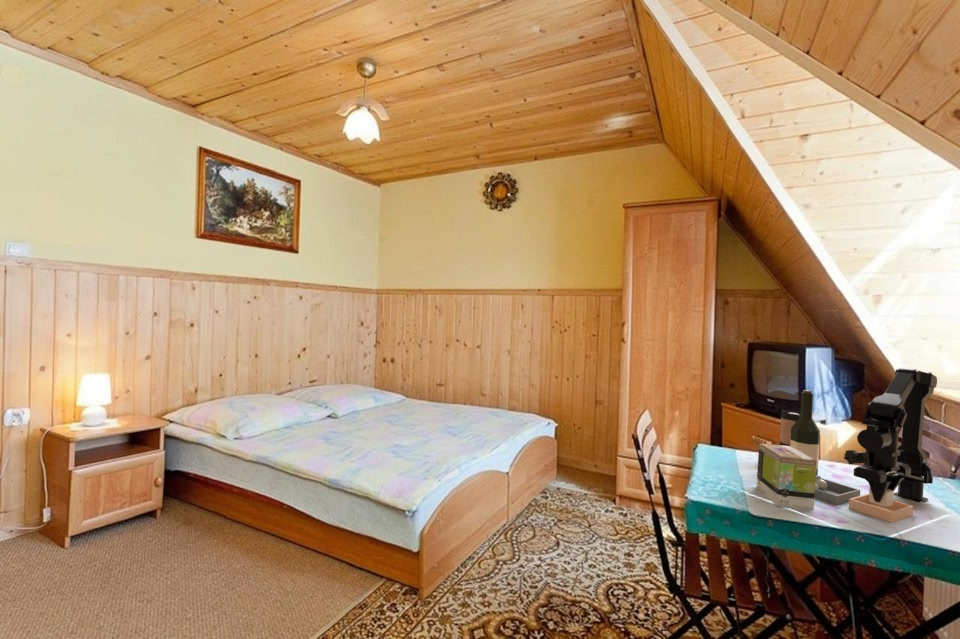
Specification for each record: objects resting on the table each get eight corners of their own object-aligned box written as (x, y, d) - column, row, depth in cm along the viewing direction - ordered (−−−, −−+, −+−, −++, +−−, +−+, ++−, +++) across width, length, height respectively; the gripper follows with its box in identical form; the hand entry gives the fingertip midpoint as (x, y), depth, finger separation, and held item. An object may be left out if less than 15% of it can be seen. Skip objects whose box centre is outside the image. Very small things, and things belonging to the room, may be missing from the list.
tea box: (815, 511, 130) (818, 459, 130) (776, 507, 132) (779, 456, 132) (790, 491, 145) (792, 444, 145) (755, 488, 147) (757, 441, 147)
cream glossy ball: (818, 487, 148) (818, 477, 148) (829, 490, 146) (829, 480, 146) (812, 488, 147) (813, 478, 147) (823, 492, 144) (824, 482, 144)
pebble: (809, 489, 146) (809, 479, 146) (820, 493, 143) (821, 482, 143) (803, 490, 145) (804, 480, 145) (814, 494, 142) (815, 484, 142)
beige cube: (875, 499, 134) (876, 485, 134) (893, 504, 130) (893, 490, 130) (868, 501, 132) (869, 487, 132) (886, 507, 128) (886, 492, 128)
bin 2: (869, 502, 138) (870, 493, 138) (912, 516, 129) (913, 506, 129) (848, 509, 133) (849, 498, 133) (891, 524, 124) (892, 513, 124)
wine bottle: (785, 471, 164) (789, 387, 164) (813, 475, 161) (818, 390, 161) (791, 479, 157) (796, 391, 156) (821, 483, 154) (826, 393, 153)
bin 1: (785, 475, 160) (786, 465, 160) (859, 499, 140) (860, 488, 140) (762, 480, 154) (763, 470, 154) (836, 506, 134) (837, 494, 134)
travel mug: (779, 461, 176) (782, 409, 176) (804, 466, 172) (807, 412, 171) (777, 466, 170) (779, 412, 170) (802, 471, 166) (805, 415, 165)
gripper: (866, 435, 142) (863, 486, 142) (833, 441, 134) (830, 494, 134) (913, 445, 132) (910, 499, 132) (880, 452, 124) (877, 510, 124)
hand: (880, 500), depth 131 cm, fingers closed on beige cube, 4 cm apart
